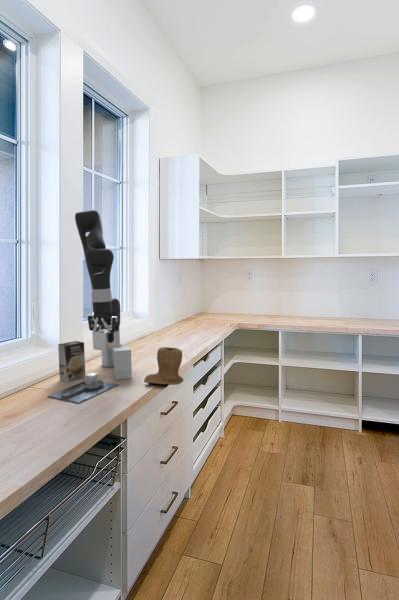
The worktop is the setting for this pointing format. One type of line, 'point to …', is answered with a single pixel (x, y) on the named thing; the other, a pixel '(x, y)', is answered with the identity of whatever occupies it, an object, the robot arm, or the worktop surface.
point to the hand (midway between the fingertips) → (104, 341)
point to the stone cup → (167, 367)
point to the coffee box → (71, 361)
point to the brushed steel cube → (102, 340)
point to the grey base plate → (84, 389)
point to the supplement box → (122, 363)
